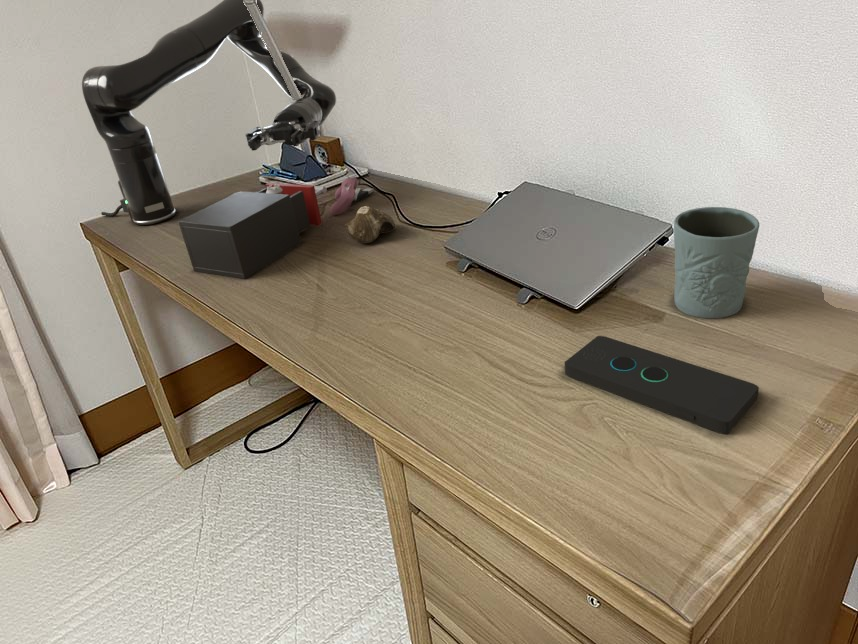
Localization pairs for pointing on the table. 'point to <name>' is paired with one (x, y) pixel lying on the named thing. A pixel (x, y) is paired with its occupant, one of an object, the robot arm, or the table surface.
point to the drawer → (302, 203)
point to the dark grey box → (240, 233)
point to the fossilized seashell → (369, 224)
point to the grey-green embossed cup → (712, 260)
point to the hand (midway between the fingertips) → (272, 143)
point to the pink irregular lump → (344, 196)
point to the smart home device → (664, 383)
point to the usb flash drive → (361, 193)
